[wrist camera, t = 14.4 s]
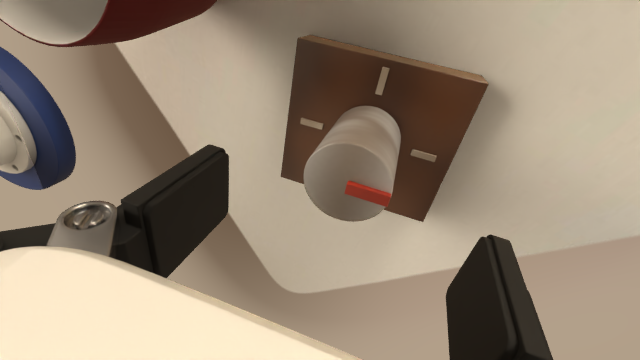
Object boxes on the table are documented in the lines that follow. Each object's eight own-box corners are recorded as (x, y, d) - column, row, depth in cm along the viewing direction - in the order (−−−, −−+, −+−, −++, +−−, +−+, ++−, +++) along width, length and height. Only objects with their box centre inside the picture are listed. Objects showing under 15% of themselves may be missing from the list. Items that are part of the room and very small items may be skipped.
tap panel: (290, 164, 23) (279, 177, 21) (309, 34, 18) (296, 38, 16) (423, 205, 21) (423, 223, 19) (482, 75, 16) (489, 84, 14)
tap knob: (327, 158, 19) (295, 209, 14) (340, 97, 17) (307, 133, 12) (389, 177, 18) (376, 237, 14) (410, 116, 16) (405, 161, 12)
